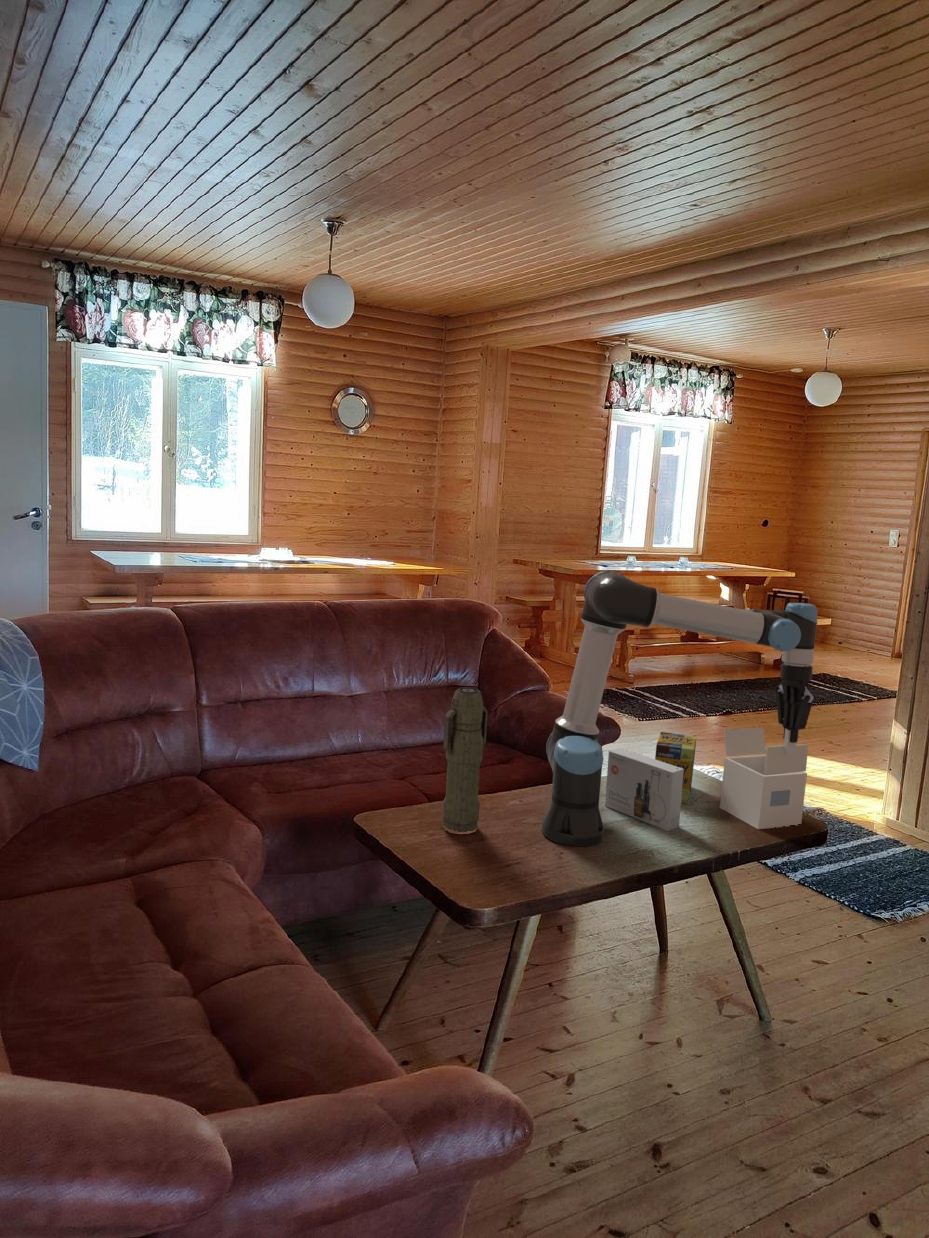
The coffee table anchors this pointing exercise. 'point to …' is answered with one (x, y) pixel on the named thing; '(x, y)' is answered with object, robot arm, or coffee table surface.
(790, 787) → the carton
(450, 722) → the thermos
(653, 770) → the skincare box
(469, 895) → the coffee table surface
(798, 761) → the near flap
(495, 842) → the coffee table surface
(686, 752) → the protein box
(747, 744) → the far flap
